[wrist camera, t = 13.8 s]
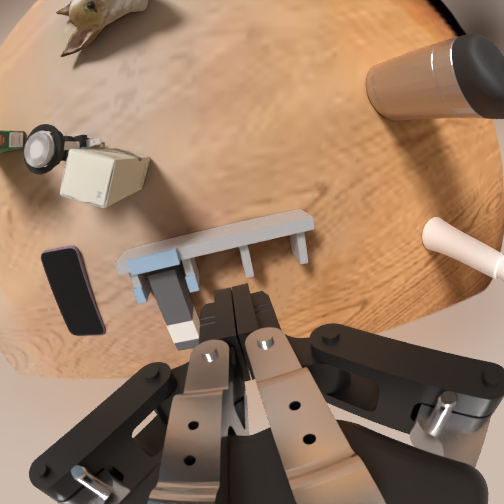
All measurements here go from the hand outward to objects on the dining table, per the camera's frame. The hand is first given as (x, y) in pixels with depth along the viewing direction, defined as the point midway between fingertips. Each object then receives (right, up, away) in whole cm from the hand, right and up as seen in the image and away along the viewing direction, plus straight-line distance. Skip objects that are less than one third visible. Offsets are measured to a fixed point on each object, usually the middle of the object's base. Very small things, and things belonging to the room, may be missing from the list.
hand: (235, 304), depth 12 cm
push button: (-22, +16, +17) cm, 32 cm away
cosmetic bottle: (+32, +6, +29) cm, 44 cm away
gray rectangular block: (-10, -4, +26) cm, 28 cm away
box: (-15, +13, +19) cm, 28 cm away
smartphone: (-27, -4, +24) cm, 36 cm away
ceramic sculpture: (-19, +35, +11) cm, 41 cm away
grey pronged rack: (-4, +3, +24) cm, 25 cm away
